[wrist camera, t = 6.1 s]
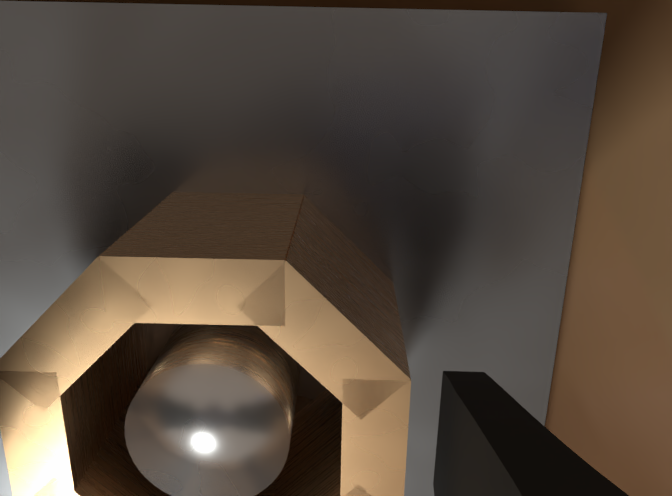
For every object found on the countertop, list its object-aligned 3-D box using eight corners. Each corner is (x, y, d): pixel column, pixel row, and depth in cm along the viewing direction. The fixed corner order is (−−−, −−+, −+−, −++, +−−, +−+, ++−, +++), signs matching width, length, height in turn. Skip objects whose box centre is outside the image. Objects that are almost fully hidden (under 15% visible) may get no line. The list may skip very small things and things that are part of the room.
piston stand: (580, 15, 11) (714, 1, 7) (506, 549, 15) (564, 737, 11) (-91, 2, 11) (-338, -20, 7) (10, 533, 15) (-114, 714, 11)
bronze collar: (398, 196, 11) (418, 262, 8) (384, 462, 13) (396, 608, 9) (80, 190, 11) (-33, 253, 8) (112, 455, 13) (32, 597, 9)
